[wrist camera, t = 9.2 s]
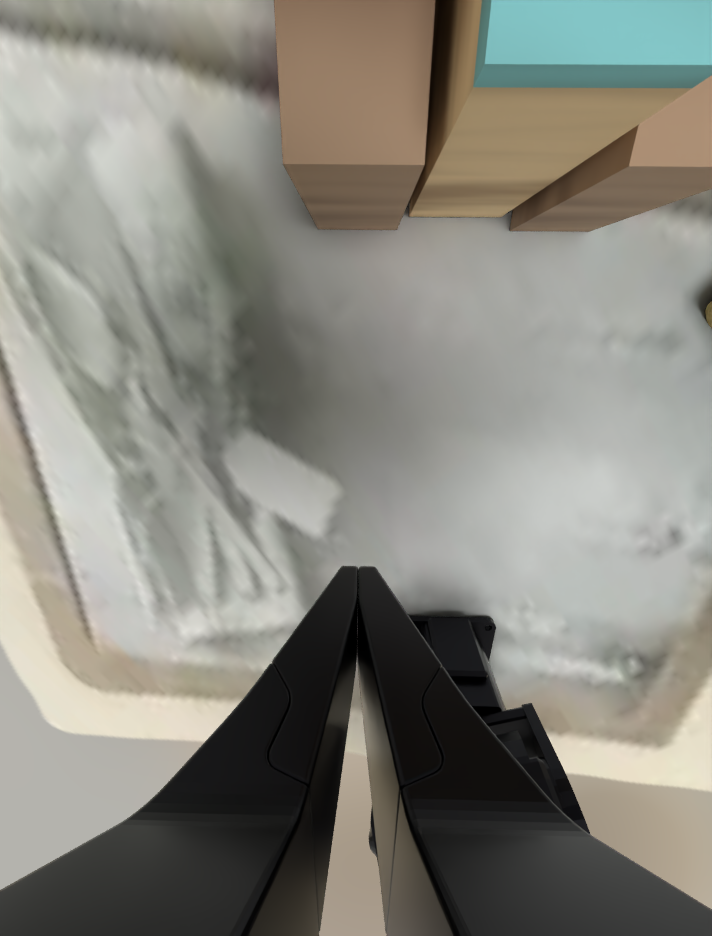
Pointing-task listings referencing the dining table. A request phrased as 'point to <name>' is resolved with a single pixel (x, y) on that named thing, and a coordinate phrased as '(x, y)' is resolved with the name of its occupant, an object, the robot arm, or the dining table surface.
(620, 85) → the block
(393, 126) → the socket block
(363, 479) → the dining table surface
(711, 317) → the gavel
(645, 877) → the robot arm
